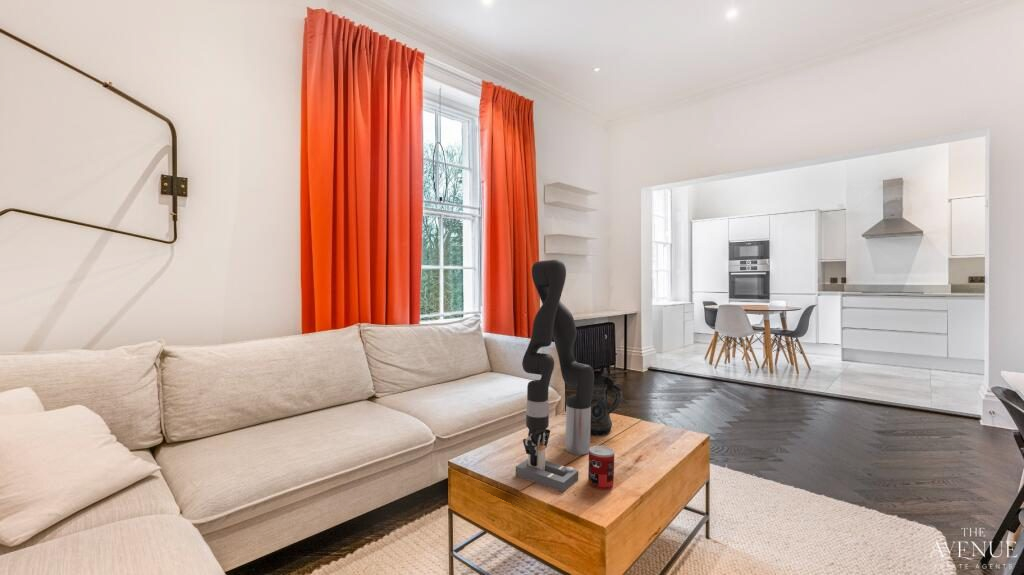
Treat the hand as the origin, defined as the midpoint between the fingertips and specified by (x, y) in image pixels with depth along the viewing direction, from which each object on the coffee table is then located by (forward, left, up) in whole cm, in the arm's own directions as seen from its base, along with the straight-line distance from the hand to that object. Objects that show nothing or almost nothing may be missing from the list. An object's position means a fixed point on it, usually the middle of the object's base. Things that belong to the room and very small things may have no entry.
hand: (536, 463), depth 144 cm
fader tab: (0, 0, -4) cm, 4 cm away
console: (0, +4, -4) cm, 5 cm away
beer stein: (-51, -2, -4) cm, 51 cm away
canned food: (-7, +20, -4) cm, 22 cm away
